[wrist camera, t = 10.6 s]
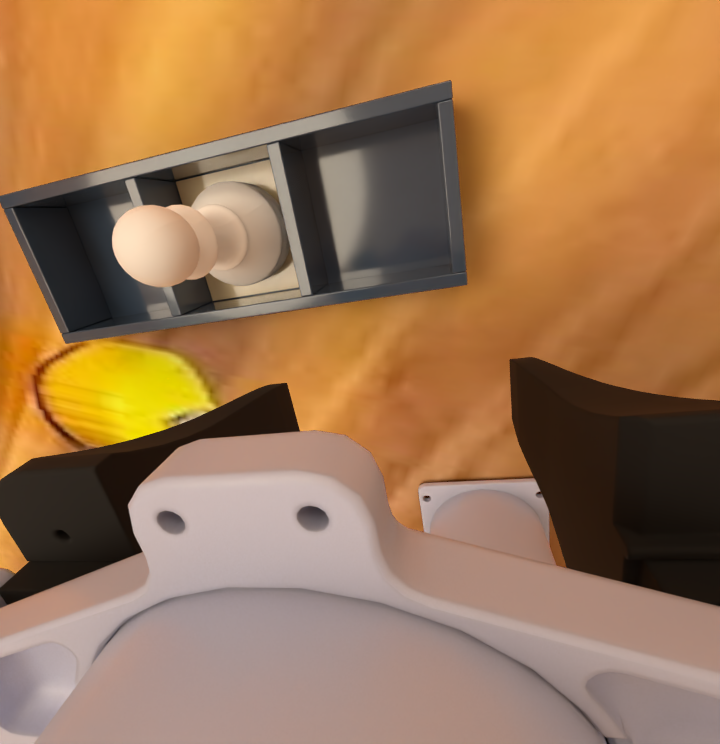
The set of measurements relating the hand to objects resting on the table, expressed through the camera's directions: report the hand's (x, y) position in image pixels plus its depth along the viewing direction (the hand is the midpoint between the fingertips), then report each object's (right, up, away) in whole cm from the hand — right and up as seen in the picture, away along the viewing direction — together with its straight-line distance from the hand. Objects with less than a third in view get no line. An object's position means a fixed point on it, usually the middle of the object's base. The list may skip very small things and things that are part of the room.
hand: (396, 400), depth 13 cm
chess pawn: (-7, +8, +9) cm, 14 cm away
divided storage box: (-7, +9, +9) cm, 14 cm away
